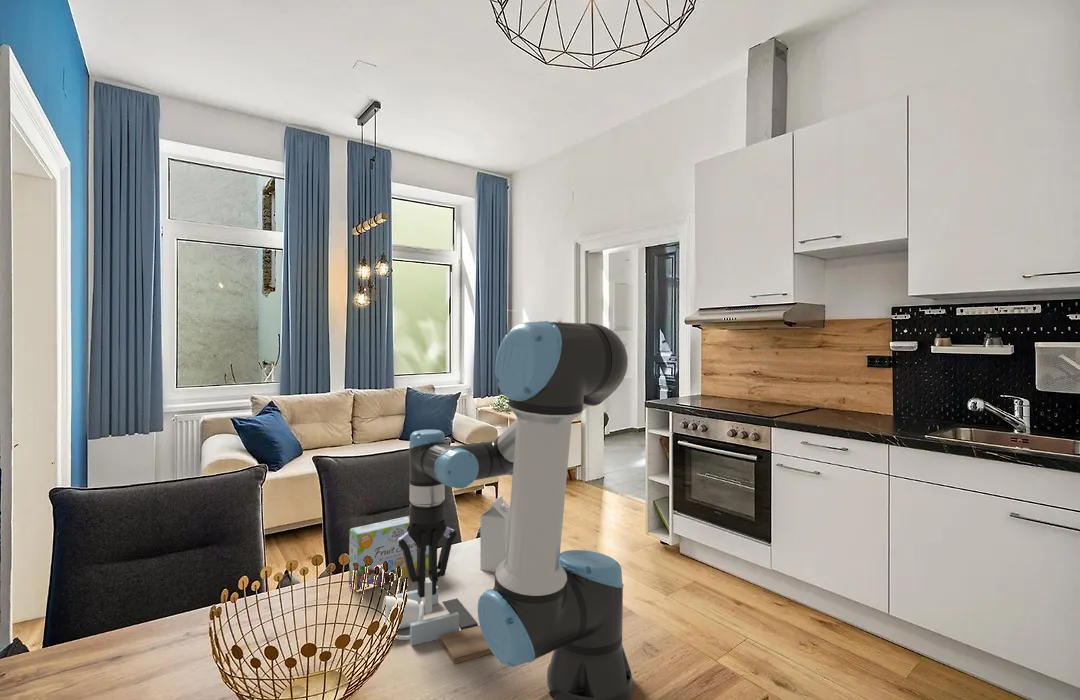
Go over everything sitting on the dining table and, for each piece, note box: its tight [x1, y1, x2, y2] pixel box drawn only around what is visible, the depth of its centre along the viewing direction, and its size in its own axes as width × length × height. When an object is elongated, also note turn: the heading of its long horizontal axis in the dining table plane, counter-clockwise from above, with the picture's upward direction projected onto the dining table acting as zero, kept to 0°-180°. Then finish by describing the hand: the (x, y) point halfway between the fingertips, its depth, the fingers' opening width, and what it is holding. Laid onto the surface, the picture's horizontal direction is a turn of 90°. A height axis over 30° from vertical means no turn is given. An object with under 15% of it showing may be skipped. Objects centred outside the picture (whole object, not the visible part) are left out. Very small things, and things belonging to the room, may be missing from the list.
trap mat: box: [442, 598, 479, 630], centre depth 120 cm, size 13×4×1 cm, turn 28°
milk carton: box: [479, 494, 510, 573], centre depth 145 cm, size 7×7×19 cm
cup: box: [380, 595, 425, 641], centre depth 114 cm, size 7×10×8 cm
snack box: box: [348, 515, 429, 592], centre depth 138 cm, size 21×6×15 cm, turn 132°
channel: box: [392, 585, 460, 647], centre depth 117 cm, size 15×10×4 cm, turn 28°
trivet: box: [438, 625, 493, 665], centre depth 108 cm, size 9×9×1 cm
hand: (426, 610), depth 117 cm, fingers closed
